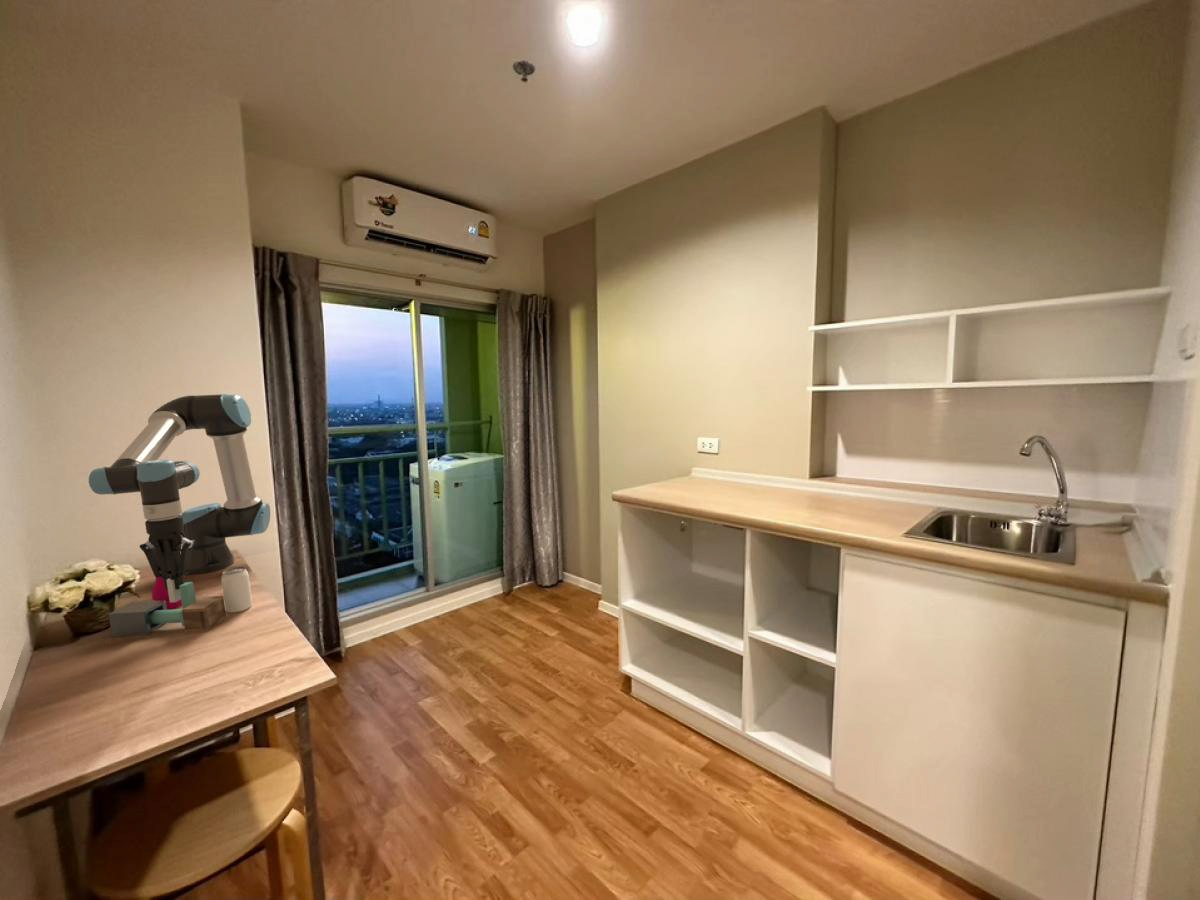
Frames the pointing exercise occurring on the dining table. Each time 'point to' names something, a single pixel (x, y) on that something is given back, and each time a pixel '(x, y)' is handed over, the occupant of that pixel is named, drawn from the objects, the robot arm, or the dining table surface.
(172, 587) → the robot arm
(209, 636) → the dining table surface
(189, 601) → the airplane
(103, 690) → the dining table surface
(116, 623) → the gray block
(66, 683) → the dining table surface
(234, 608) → the can
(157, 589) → the pepper mill
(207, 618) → the socket
